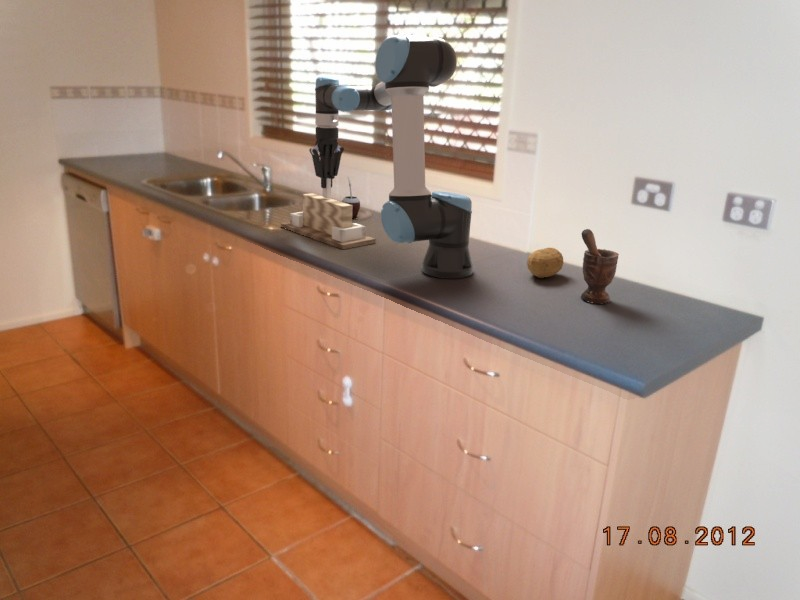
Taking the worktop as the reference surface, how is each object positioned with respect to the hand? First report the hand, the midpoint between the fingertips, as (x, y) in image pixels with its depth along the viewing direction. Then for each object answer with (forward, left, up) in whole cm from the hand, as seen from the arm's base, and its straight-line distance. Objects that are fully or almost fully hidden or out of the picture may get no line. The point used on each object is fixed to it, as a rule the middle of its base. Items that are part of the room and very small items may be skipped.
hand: (326, 197), depth 227 cm
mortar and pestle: (-64, -74, -14) cm, 98 cm away
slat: (0, 0, -12) cm, 12 cm away
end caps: (0, 0, -12) cm, 12 cm away
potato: (-43, -66, -14) cm, 79 cm away
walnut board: (0, 0, -13) cm, 13 cm away
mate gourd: (+28, -8, -14) cm, 32 cm away
